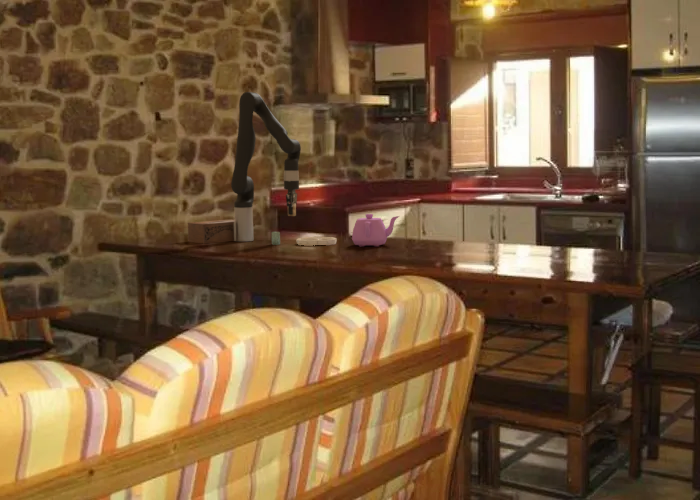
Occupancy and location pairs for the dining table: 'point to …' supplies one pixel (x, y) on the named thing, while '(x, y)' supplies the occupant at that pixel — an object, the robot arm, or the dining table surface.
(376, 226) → the teapot
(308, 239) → the tray
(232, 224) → the tissue box cover
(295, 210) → the bead oak
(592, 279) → the dining table surface
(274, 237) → the bead teal
